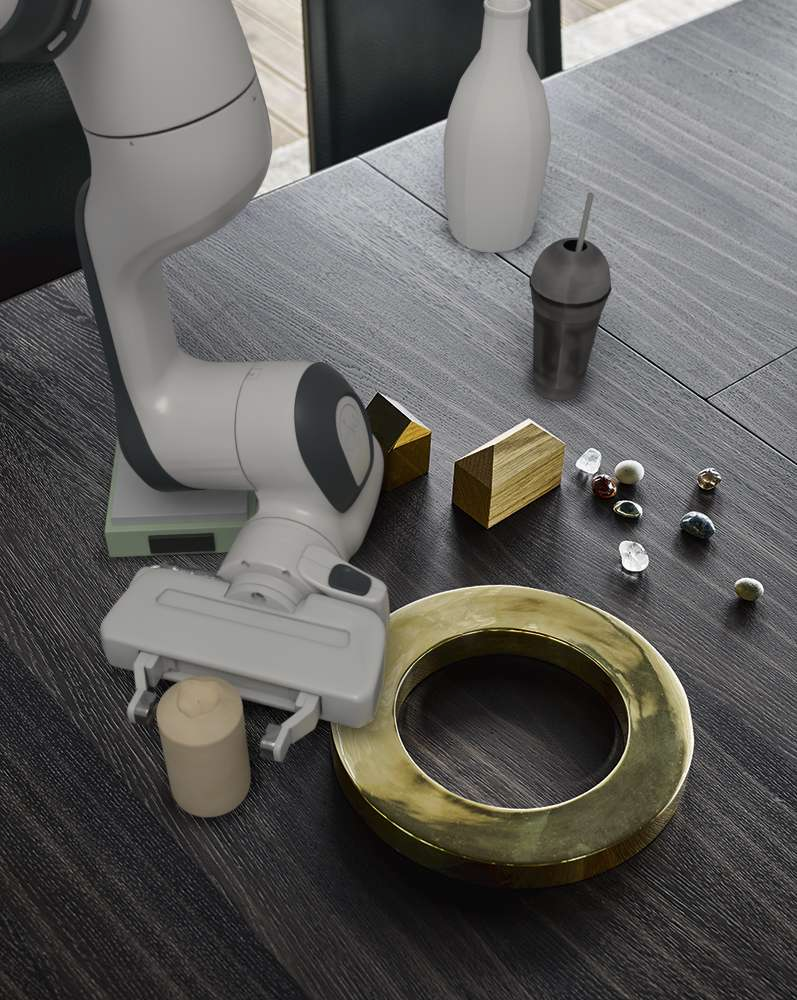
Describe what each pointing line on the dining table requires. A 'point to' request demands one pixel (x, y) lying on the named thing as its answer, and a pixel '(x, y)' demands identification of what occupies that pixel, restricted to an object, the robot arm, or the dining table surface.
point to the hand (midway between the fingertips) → (203, 737)
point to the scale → (171, 517)
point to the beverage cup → (567, 311)
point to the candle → (205, 745)
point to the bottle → (497, 137)
